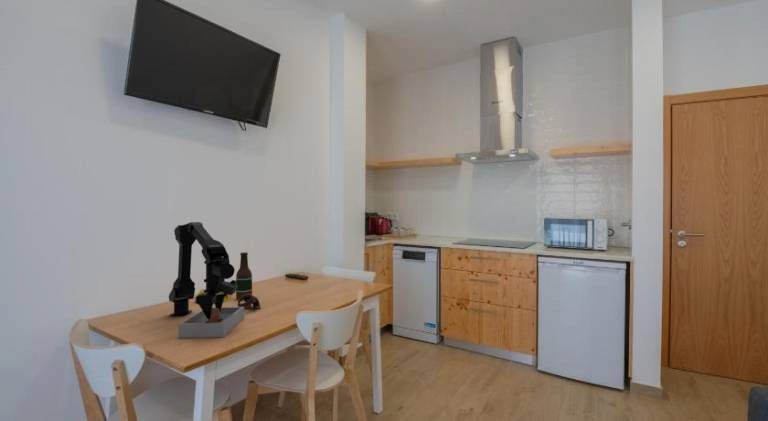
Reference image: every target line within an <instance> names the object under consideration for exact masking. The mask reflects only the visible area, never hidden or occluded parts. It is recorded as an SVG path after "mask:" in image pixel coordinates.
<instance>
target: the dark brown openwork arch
mask: <svg viewBox="0 0 768 421" xmlns="http://www.w3.org/2000/svg"><path fill="white" fill-rule="evenodd" d="M243 299H244V301H243V302H244V303H242V300H243ZM237 307H244V310H245V309H247V308H249V307H251V308H252V307H253V308H255V307H258V308H259V310H261V304H260V300H259V299H258V297H257V296H256V295H253V293H252V294H246V295H243V296H242V297H241V298H240V299H239V300H237Z"/></svg>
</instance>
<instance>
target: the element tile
mask: <svg viewBox="0 0 768 421" xmlns="http://www.w3.org/2000/svg"><path fill="white" fill-rule="evenodd" d="M205 289H206V288H205ZM205 289H204V288H203V289H201V290H200V291H198V293H196V295H195V298H196V297H197V296H198V295H199V294H201V293H204V290H205ZM231 297H232V296H231V295H227V296H226V297H225V298H224V301H223V303H226V301H227V302H228V301H229V300H230V299H231Z"/></svg>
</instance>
